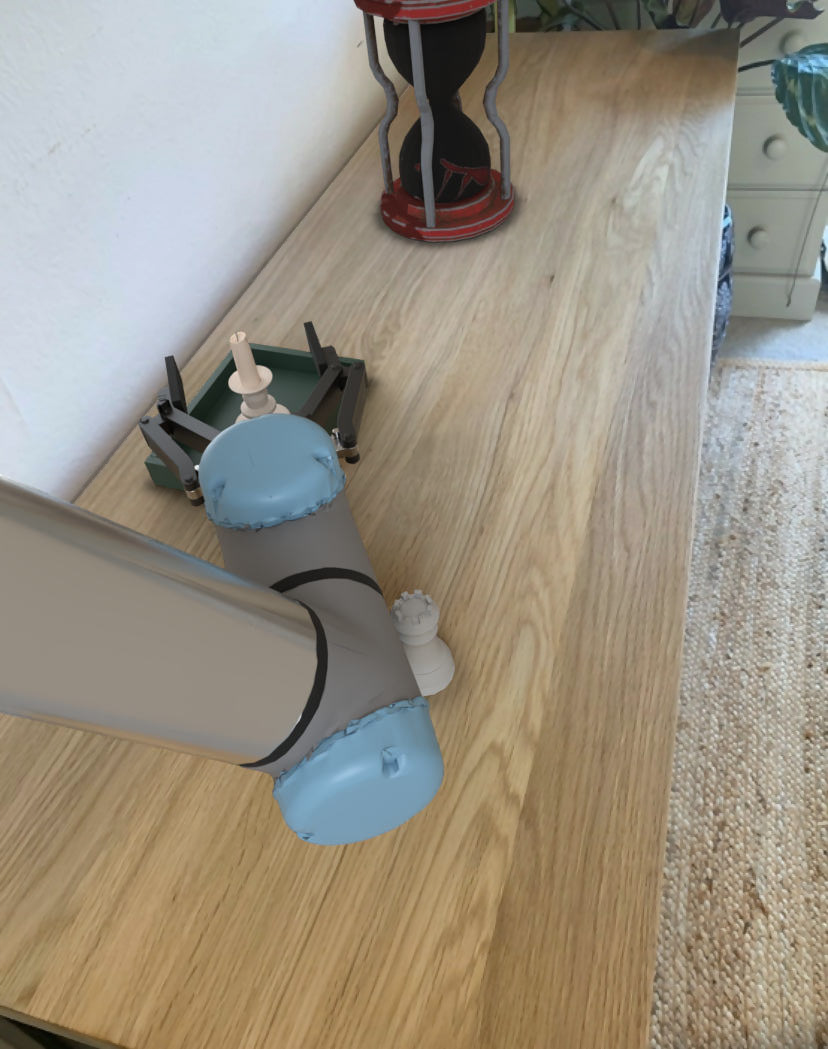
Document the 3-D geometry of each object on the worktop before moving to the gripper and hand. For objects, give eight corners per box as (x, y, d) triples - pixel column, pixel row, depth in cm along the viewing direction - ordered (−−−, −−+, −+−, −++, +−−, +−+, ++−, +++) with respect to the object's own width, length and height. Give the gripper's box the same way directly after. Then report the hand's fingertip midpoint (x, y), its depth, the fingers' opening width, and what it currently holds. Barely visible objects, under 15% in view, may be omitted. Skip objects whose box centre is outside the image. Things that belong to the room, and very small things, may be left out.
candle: (237, 449, 77) (205, 355, 69) (234, 412, 80) (203, 319, 72) (294, 438, 77) (269, 343, 69) (289, 401, 80) (264, 307, 73)
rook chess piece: (409, 637, 62) (397, 569, 56) (465, 657, 61) (459, 589, 55) (381, 686, 60) (366, 621, 54) (439, 709, 58) (429, 643, 52)
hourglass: (402, 173, 110) (378, -53, 92) (526, 178, 106) (526, -57, 88) (364, 239, 100) (328, 1, 82) (499, 247, 96) (494, -1, 78)
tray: (291, 513, 72) (284, 490, 70) (154, 484, 76) (143, 462, 74) (368, 383, 82) (364, 359, 80) (244, 363, 86) (237, 340, 84)
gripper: (138, 595, 64) (123, 416, 78) (446, 510, 67) (376, 352, 81) (102, 529, 58) (92, 349, 72) (439, 439, 61) (366, 283, 75)
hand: (242, 351), depth 77 cm, fingers open, 12 cm apart
